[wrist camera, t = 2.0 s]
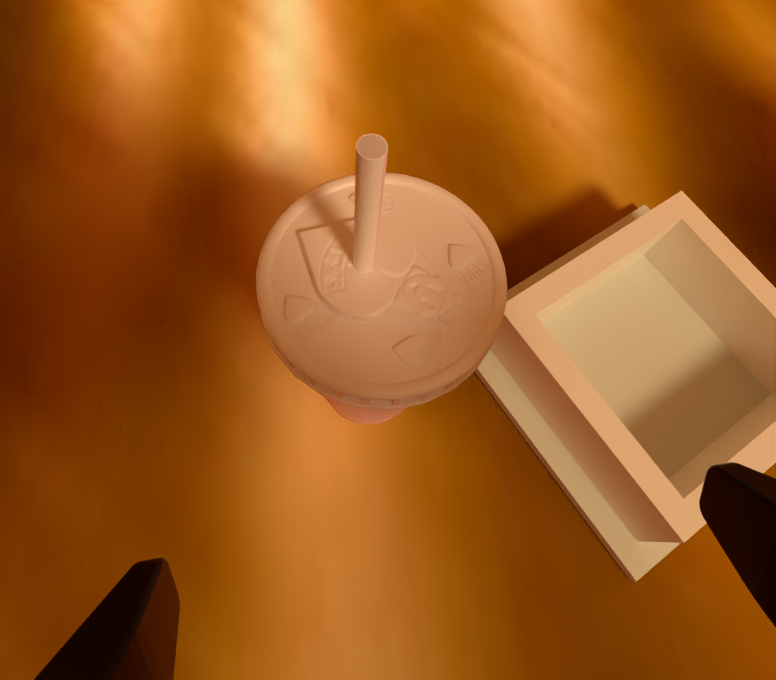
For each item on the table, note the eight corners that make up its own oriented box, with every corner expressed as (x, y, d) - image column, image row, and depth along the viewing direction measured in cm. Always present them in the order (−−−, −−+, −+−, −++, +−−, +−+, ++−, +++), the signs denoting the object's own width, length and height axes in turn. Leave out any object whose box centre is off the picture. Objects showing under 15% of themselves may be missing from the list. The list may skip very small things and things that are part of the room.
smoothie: (337, 286, 24) (327, -23, 11) (468, 350, 23) (629, 108, 10) (261, 412, 21) (128, 221, 8) (404, 487, 21) (501, 407, 8)
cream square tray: (824, 410, 23) (903, 390, 20) (629, 580, 20) (684, 589, 17) (639, 210, 26) (681, 163, 23) (445, 332, 23) (461, 299, 20)
